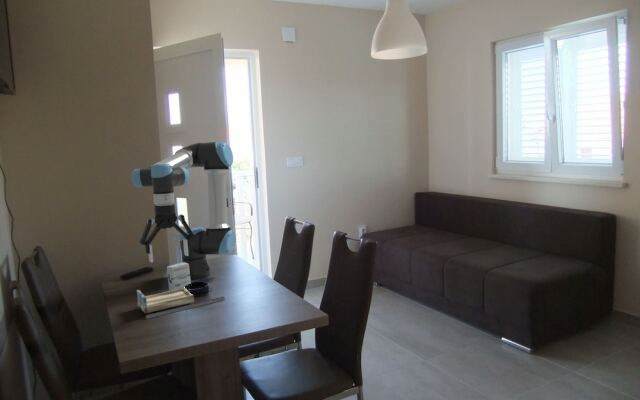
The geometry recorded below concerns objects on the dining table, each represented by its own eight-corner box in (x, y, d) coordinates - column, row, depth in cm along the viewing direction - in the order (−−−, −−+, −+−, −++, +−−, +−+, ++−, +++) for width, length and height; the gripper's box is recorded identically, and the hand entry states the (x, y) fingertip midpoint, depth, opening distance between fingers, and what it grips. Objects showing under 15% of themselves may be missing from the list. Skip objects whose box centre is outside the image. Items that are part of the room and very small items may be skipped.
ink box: (186, 286, 210) (184, 261, 208) (191, 289, 206) (189, 263, 205) (168, 292, 204) (166, 266, 202) (173, 294, 200) (171, 267, 199)
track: (137, 306, 187) (137, 304, 187) (211, 290, 203) (210, 287, 203) (146, 318, 174) (146, 315, 173) (224, 300, 190) (224, 297, 190)
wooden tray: (138, 308, 185) (136, 290, 184) (185, 297, 195) (184, 280, 194) (145, 317, 175) (143, 298, 174) (194, 305, 185) (192, 287, 184)
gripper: (132, 209, 166) (138, 266, 169) (199, 201, 181) (203, 254, 183) (127, 207, 173) (133, 262, 175) (192, 200, 187) (196, 251, 189)
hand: (169, 258), depth 179 cm, fingers open, 13 cm apart
